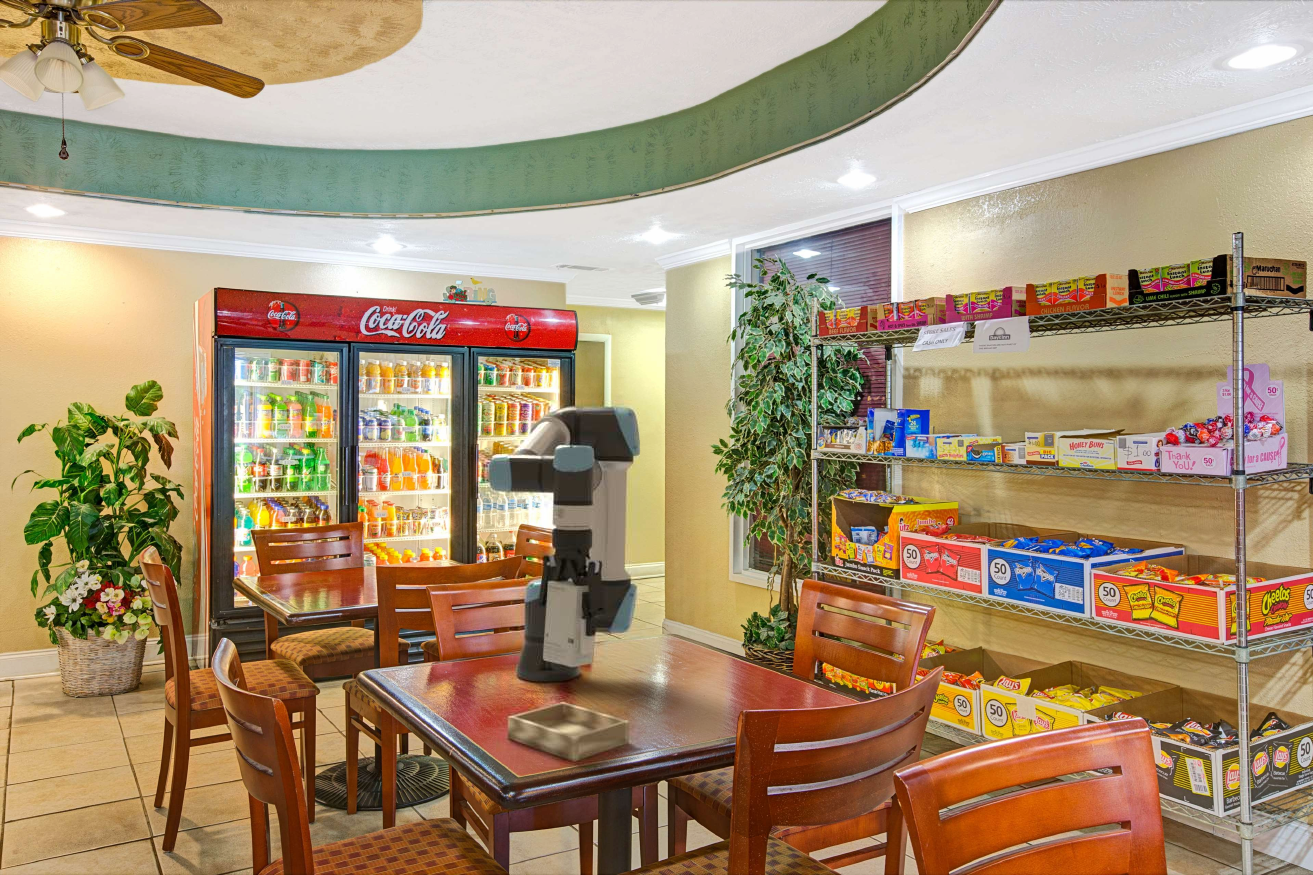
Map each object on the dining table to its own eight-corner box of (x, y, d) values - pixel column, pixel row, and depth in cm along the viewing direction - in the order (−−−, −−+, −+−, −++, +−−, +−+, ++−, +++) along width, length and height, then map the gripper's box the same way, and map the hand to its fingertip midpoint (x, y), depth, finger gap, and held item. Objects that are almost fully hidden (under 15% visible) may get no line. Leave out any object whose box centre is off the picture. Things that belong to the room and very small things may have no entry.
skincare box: (542, 660, 167) (544, 581, 167) (565, 655, 171) (567, 578, 172) (573, 668, 161) (575, 586, 162) (597, 662, 166) (598, 582, 166)
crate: (507, 737, 167) (508, 716, 167) (562, 721, 178) (563, 701, 178) (574, 761, 155) (574, 738, 155) (628, 742, 166) (629, 721, 166)
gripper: (520, 524, 171) (517, 643, 171) (598, 532, 157) (595, 662, 157) (549, 522, 177) (547, 637, 176) (627, 530, 163) (624, 655, 162)
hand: (569, 649), depth 166 cm, fingers closed on skincare box, 8 cm apart
